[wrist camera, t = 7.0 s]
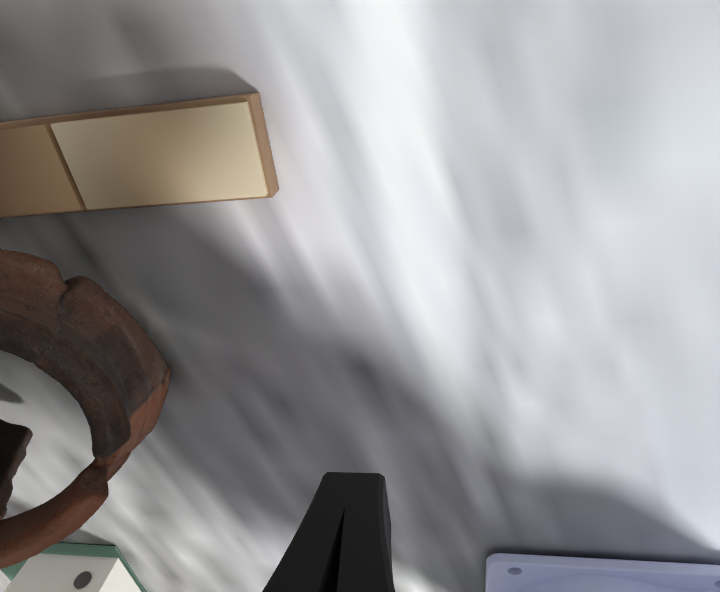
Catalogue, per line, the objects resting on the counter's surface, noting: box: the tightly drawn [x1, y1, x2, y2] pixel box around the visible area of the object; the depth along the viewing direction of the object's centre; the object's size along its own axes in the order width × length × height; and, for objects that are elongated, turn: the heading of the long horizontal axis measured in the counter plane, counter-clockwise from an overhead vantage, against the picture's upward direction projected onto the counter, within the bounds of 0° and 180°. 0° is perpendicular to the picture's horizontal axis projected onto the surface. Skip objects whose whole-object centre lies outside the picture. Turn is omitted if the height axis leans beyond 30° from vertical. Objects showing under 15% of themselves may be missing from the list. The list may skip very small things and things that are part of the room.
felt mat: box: [0, 543, 146, 592], centre depth 23 cm, size 7×7×1 cm
